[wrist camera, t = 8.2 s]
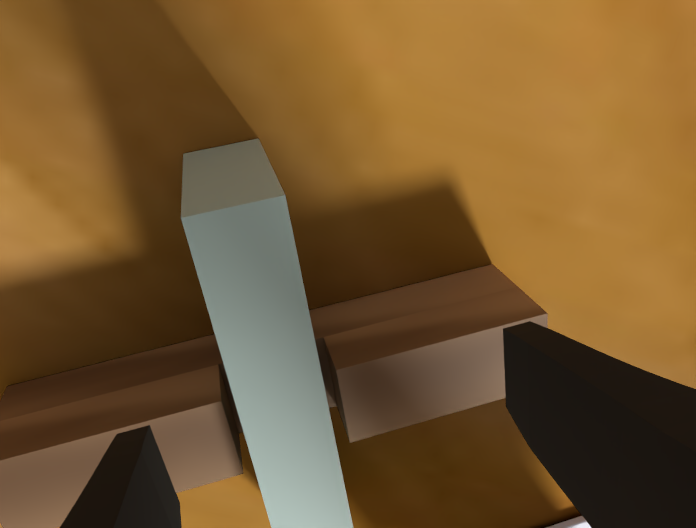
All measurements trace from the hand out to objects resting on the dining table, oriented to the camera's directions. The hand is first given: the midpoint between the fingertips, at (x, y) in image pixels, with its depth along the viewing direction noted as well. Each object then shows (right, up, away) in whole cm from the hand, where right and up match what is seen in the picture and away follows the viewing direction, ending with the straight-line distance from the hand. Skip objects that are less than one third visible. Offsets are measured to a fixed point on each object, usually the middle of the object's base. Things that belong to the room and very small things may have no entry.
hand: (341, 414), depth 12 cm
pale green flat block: (-3, 0, +11) cm, 11 cm away
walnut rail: (-3, 0, +11) cm, 11 cm away
